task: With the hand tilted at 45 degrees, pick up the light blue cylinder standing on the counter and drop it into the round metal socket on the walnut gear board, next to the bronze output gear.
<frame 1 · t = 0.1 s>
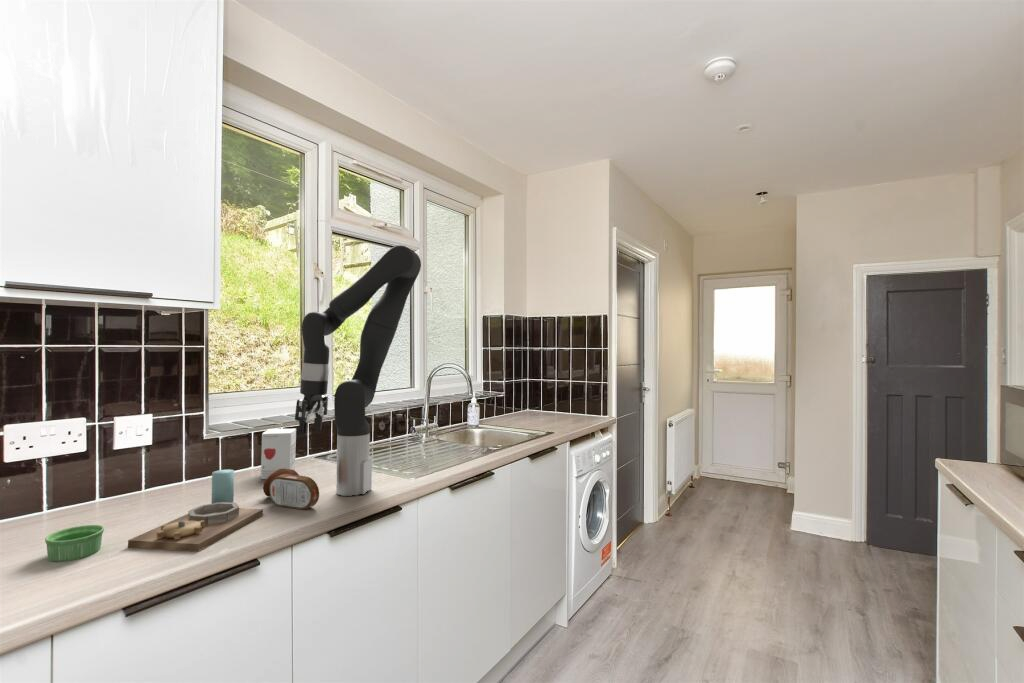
hand: (310, 432, 144), 17 cm above the countertop, tool pointing down, fingers open, 8 cm apart
ramekin: (74, 555, 99), on the countertop
tin: (292, 507, 129), on the countertop
light blue cylinder: (222, 507, 128), on the countertop
gear board: (201, 529, 112), on the countertop
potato: (283, 496, 138), on the countertop
supplement box: (278, 476, 160), on the countertop
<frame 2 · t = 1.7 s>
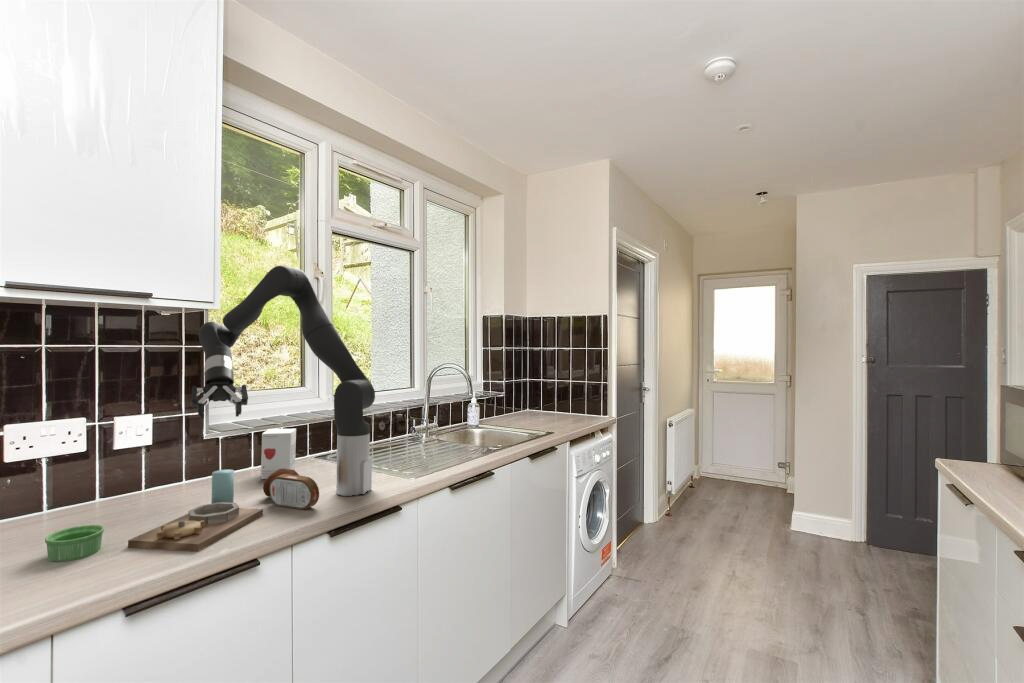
hand: (220, 415, 137), 23 cm above the countertop, tool tilted 45°, fingers open, 8 cm apart
nothing on the countertop moved.
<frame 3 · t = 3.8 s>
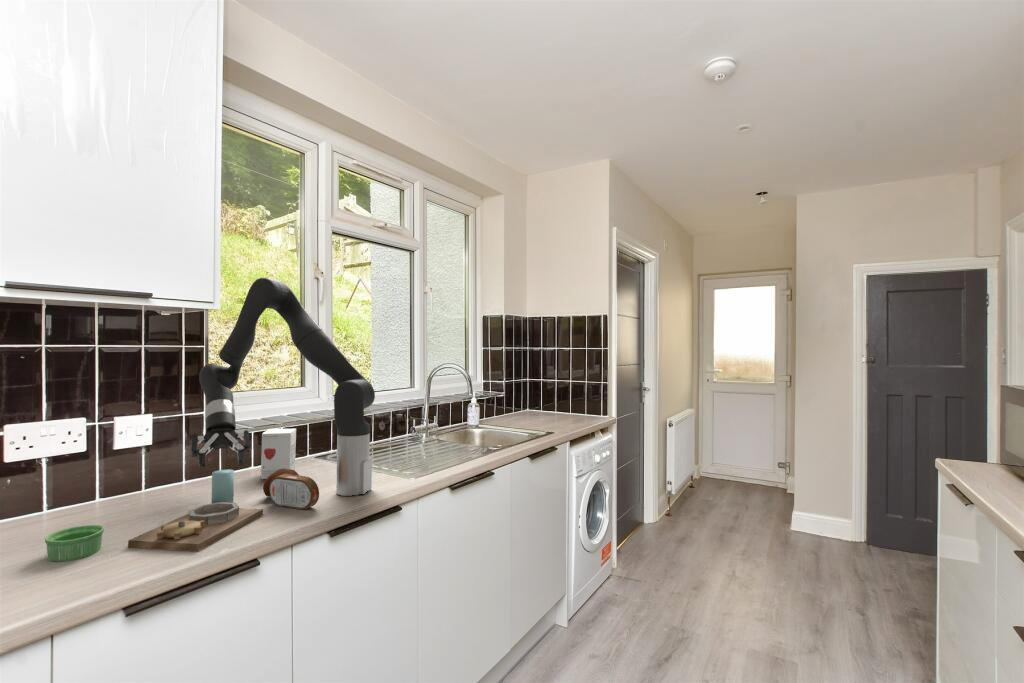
hand: (222, 465, 132), 10 cm above the countertop, tool tilted 45°, fingers open, 8 cm apart
nothing on the countertop moved.
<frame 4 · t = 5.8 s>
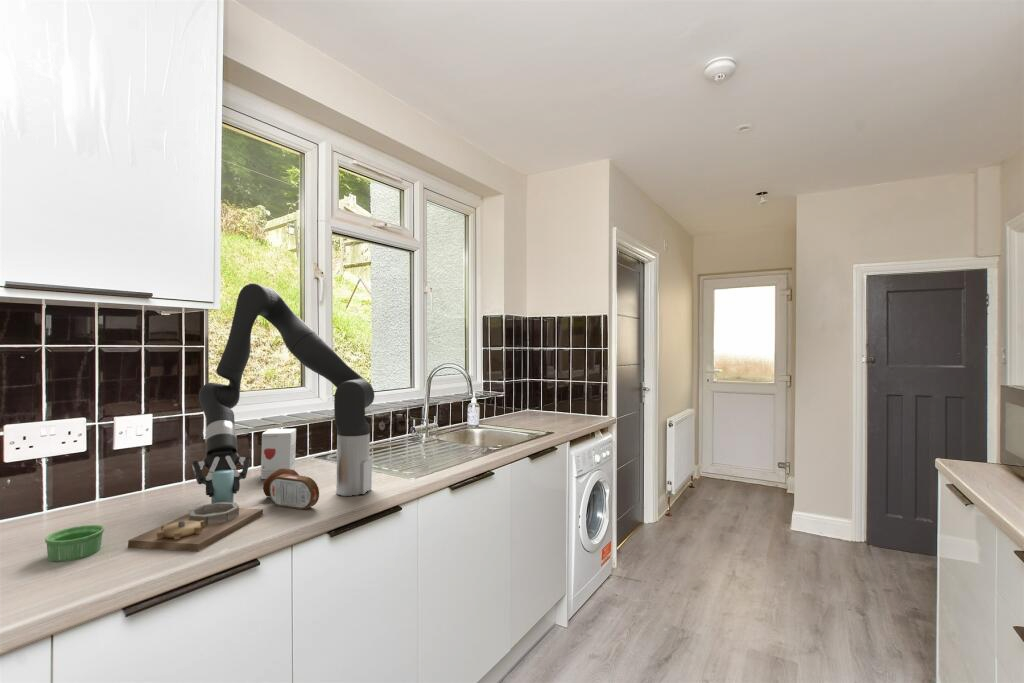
hand: (223, 493, 126), 4 cm above the countertop, tool tilted 45°, fingers closed on light blue cylinder, 5 cm apart
light blue cylinder: (222, 507, 128), on the countertop, touching gripper
everything else where it was.
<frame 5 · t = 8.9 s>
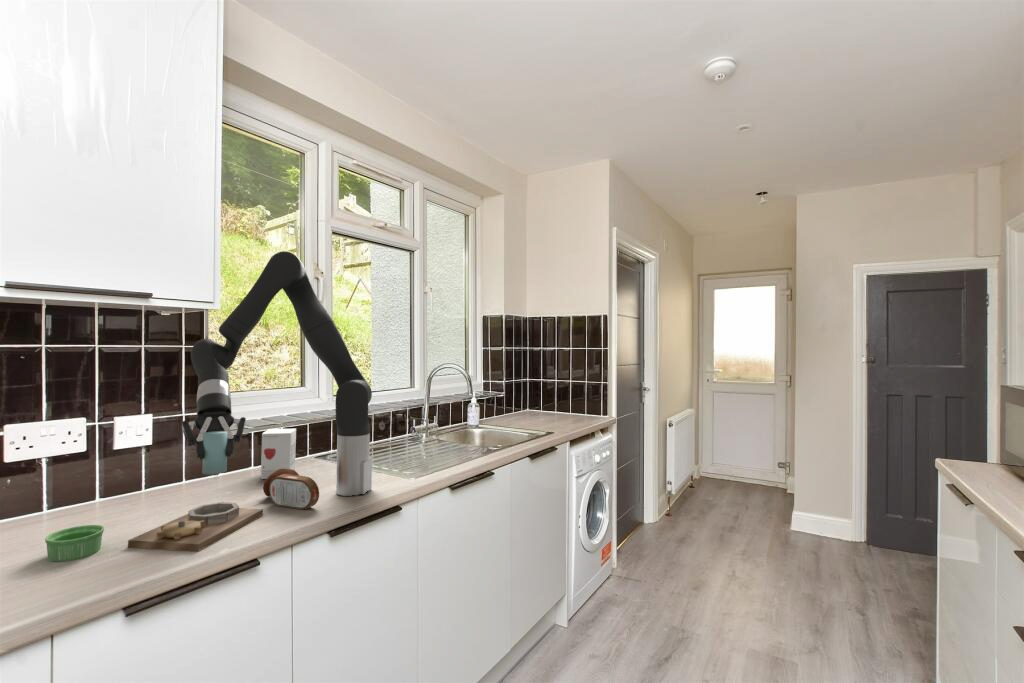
hand: (215, 455, 115), 17 cm above the countertop, tool tilted 45°, fingers closed on light blue cylinder, 5 cm apart
light blue cylinder: (214, 471, 116), point 12 cm above the countertop, touching gripper
everything else where it was.
when the fingers open (8 cm above the countertop, at t = 12.1 s): light blue cylinder drops 2 cm, resting on gear board.
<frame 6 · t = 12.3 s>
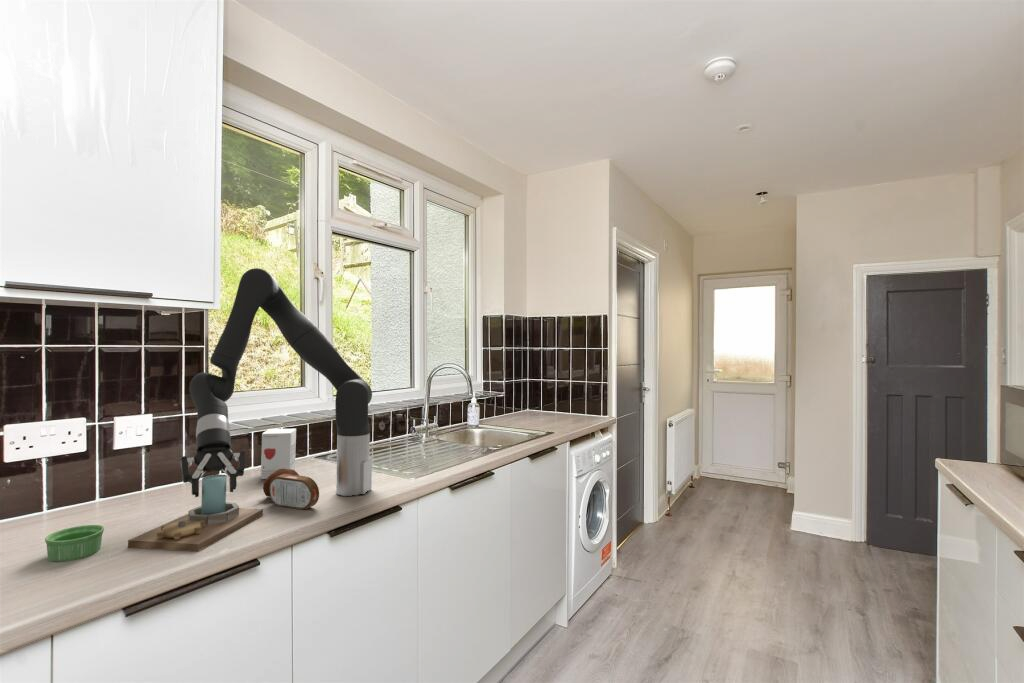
hand: (214, 492, 115), 8 cm above the countertop, tool tilted 45°, fingers open, 6 cm apart
light blue cylinder: (213, 516, 116), point 2 cm above the countertop, touching gear board
everything else where it was.
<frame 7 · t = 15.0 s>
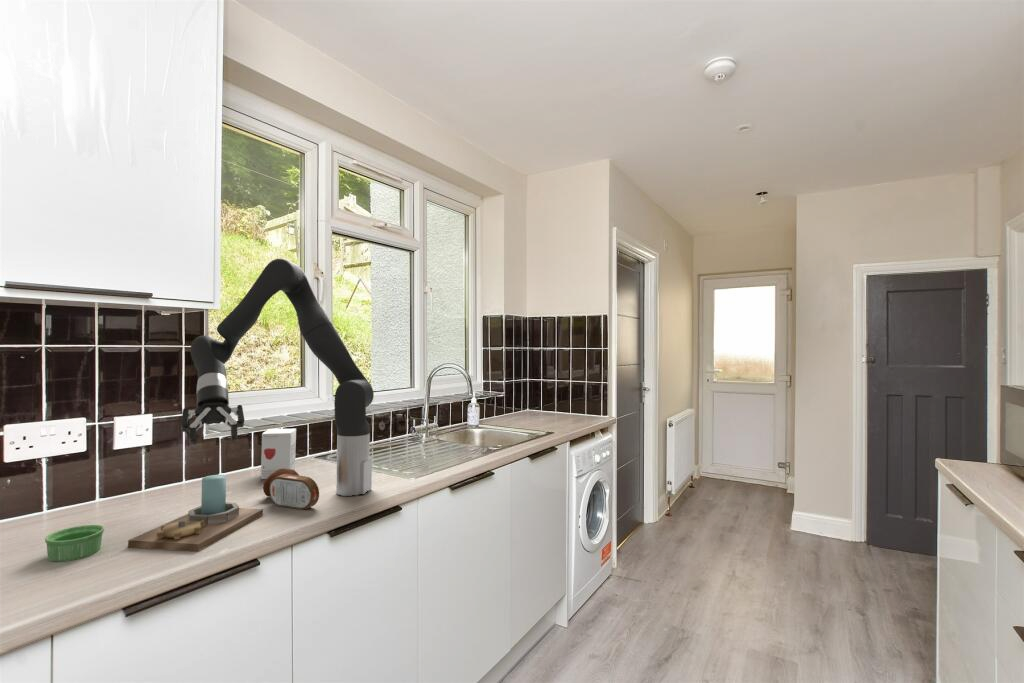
hand: (214, 440, 125), 18 cm above the countertop, tool tilted 45°, fingers open, 8 cm apart
nothing on the countertop moved.
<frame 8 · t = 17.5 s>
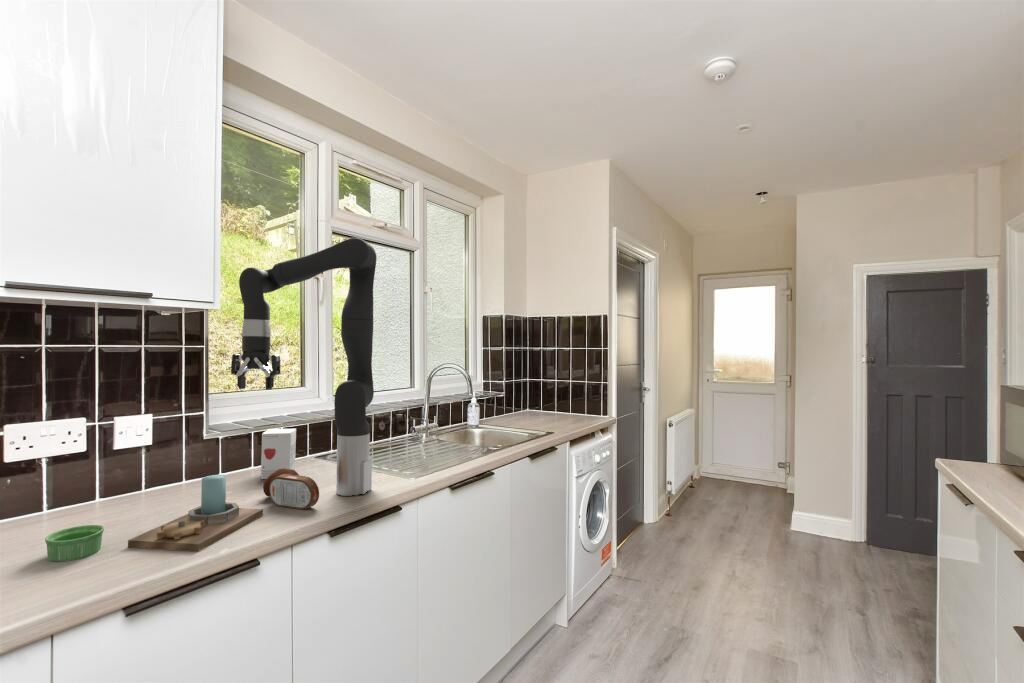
hand: (255, 389, 144), 30 cm above the countertop, tool pointing down, fingers open, 8 cm apart
nothing on the countertop moved.
at the end: light blue cylinder 0.2 cm from the target spot on the gear board, point 1.6 cm above the gear board's base; light blue cylinder tilted 0°; the gripper is holding nothing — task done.
